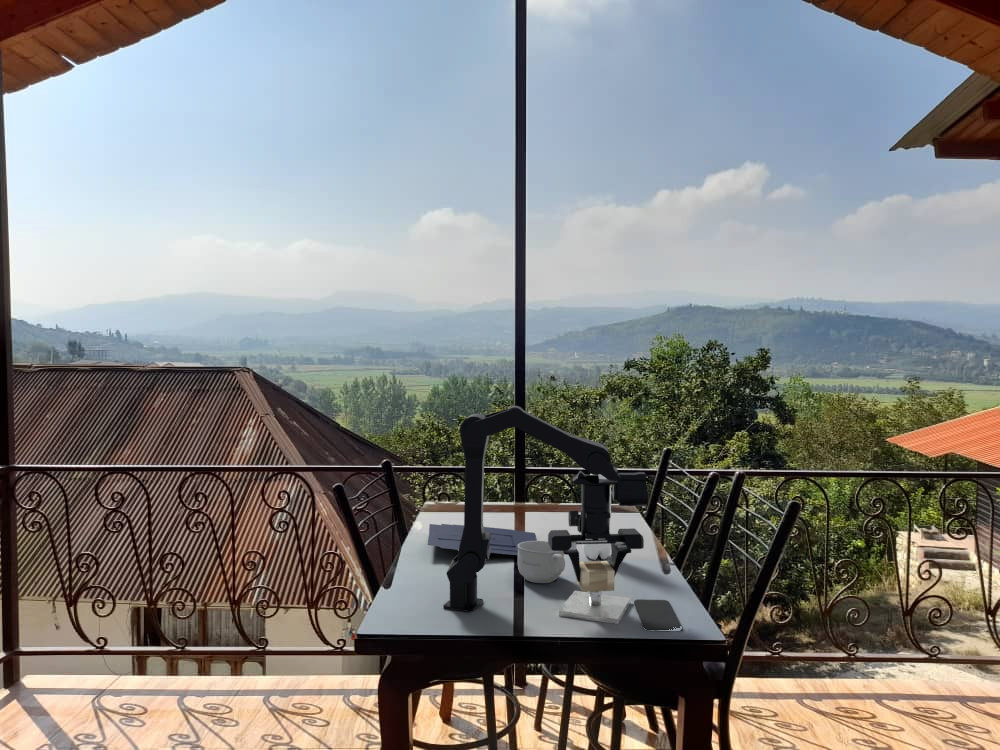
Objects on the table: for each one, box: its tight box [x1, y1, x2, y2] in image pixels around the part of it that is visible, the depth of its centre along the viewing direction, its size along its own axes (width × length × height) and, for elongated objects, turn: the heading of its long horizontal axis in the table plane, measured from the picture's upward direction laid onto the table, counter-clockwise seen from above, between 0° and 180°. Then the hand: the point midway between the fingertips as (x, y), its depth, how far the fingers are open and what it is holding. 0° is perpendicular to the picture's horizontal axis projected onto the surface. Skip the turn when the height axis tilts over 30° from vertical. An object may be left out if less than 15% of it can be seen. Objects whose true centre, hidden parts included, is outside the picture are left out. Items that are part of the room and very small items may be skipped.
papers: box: [427, 523, 538, 556], centre depth 187 cm, size 24×30×4 cm
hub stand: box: [558, 590, 631, 625], centre depth 144 cm, size 12×12×6 cm
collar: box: [575, 560, 616, 593], centre depth 144 cm, size 6×6×4 cm
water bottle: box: [582, 473, 613, 561], centre depth 178 cm, size 7×7×25 cm
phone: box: [633, 598, 682, 631], centre depth 140 cm, size 7×1×15 cm
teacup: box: [517, 540, 566, 584], centre depth 160 cm, size 14×11×8 cm
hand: (595, 580), depth 144 cm, fingers closed on collar, 6 cm apart
